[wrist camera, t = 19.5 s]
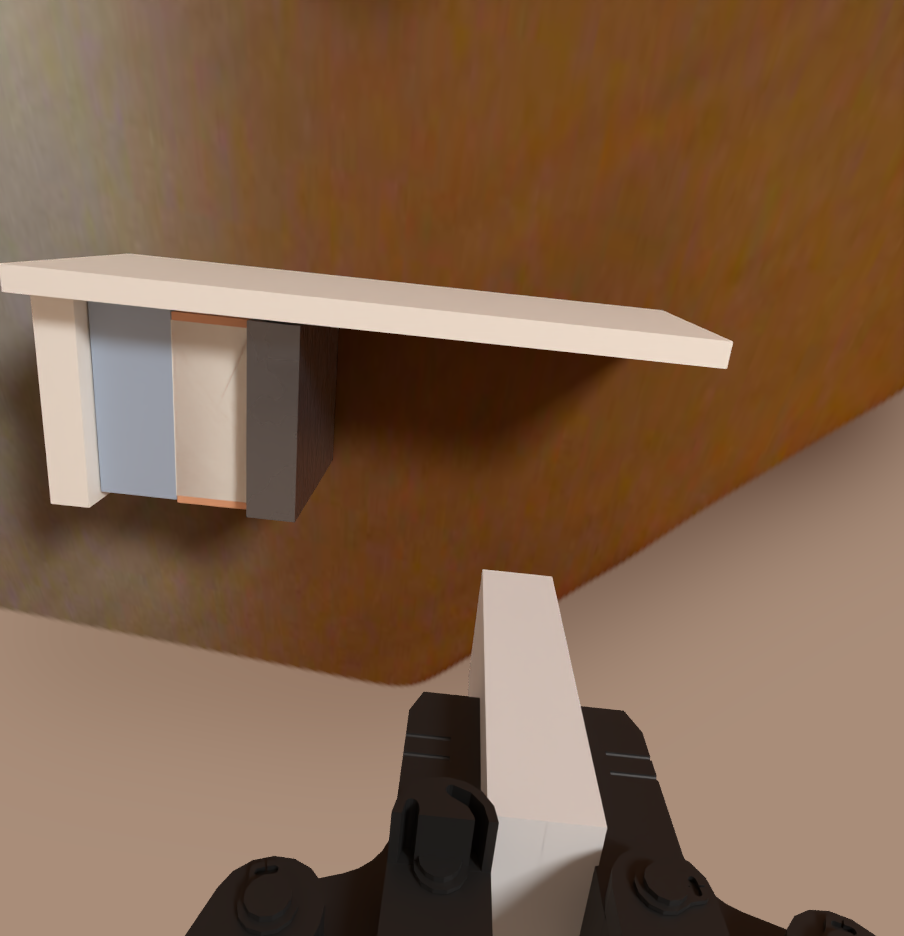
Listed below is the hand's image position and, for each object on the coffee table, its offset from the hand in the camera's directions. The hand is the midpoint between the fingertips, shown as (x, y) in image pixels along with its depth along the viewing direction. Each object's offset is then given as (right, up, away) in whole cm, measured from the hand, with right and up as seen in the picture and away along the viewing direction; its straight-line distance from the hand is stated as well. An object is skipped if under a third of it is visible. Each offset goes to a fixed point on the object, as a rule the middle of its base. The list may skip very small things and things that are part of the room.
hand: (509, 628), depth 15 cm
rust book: (-13, +9, +29) cm, 33 cm away
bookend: (-10, +9, +28) cm, 31 cm away
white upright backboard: (-5, +9, +28) cm, 30 cm away
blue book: (-17, +10, +28) cm, 35 cm away
